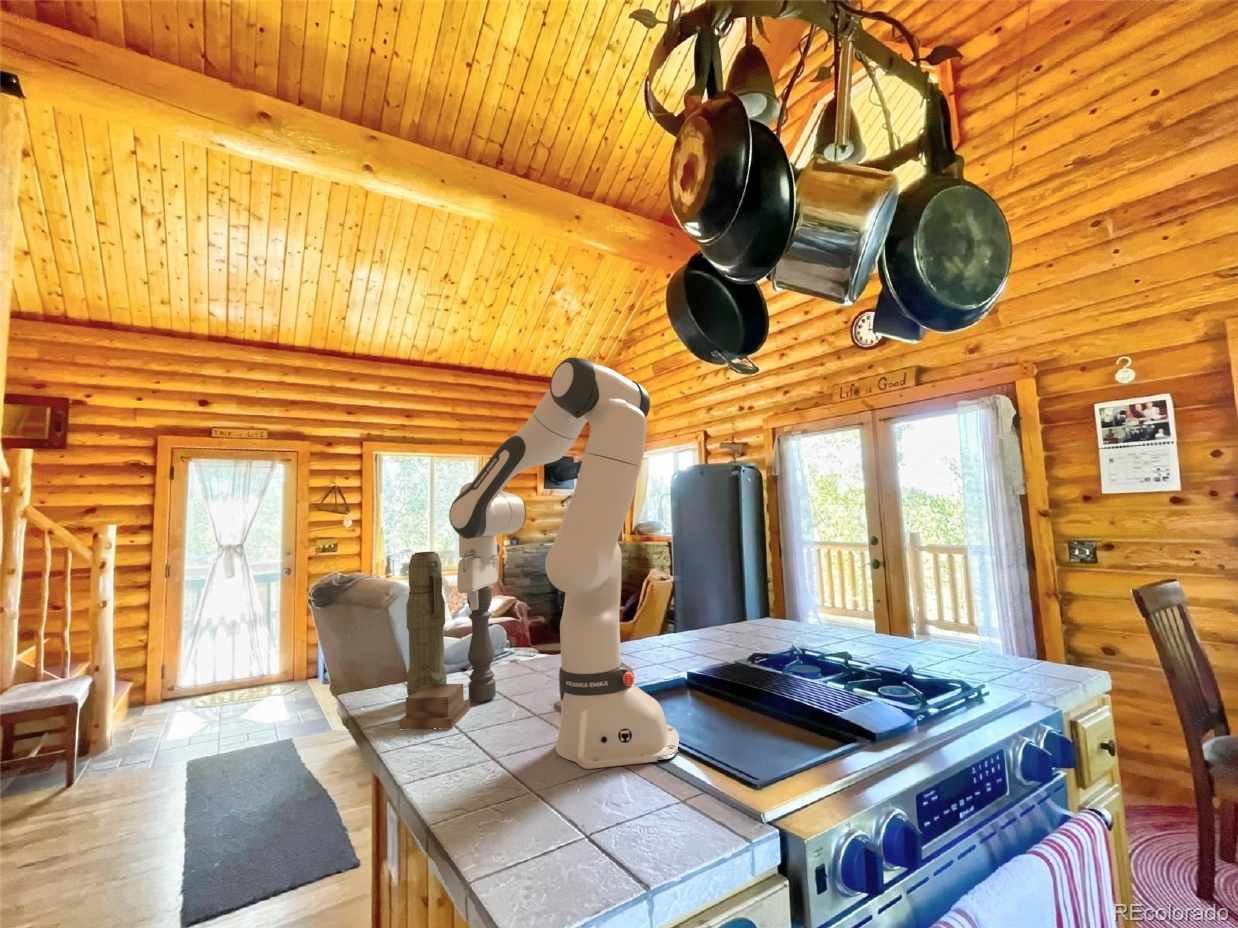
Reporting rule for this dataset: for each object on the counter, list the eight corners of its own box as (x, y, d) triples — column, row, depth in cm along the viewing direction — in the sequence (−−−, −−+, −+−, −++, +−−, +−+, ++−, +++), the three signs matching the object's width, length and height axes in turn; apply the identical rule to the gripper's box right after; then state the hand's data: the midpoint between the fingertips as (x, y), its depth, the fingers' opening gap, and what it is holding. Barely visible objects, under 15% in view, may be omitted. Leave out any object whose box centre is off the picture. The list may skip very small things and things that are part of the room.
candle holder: (501, 694, 131) (497, 587, 133) (481, 702, 125) (478, 591, 128) (482, 691, 134) (479, 586, 136) (463, 698, 129) (460, 590, 131)
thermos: (428, 711, 124) (425, 553, 127) (395, 703, 130) (394, 554, 133) (459, 699, 131) (456, 550, 134) (426, 692, 137) (424, 551, 141)
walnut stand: (469, 709, 123) (469, 682, 123) (451, 728, 112) (451, 698, 113) (421, 711, 124) (421, 683, 124) (399, 730, 113) (398, 700, 113)
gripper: (476, 551, 123) (478, 614, 121) (502, 546, 143) (504, 600, 142) (449, 552, 123) (450, 615, 122) (478, 547, 143) (480, 601, 142)
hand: (479, 607), depth 132 cm, fingers closed on candle holder, 6 cm apart
